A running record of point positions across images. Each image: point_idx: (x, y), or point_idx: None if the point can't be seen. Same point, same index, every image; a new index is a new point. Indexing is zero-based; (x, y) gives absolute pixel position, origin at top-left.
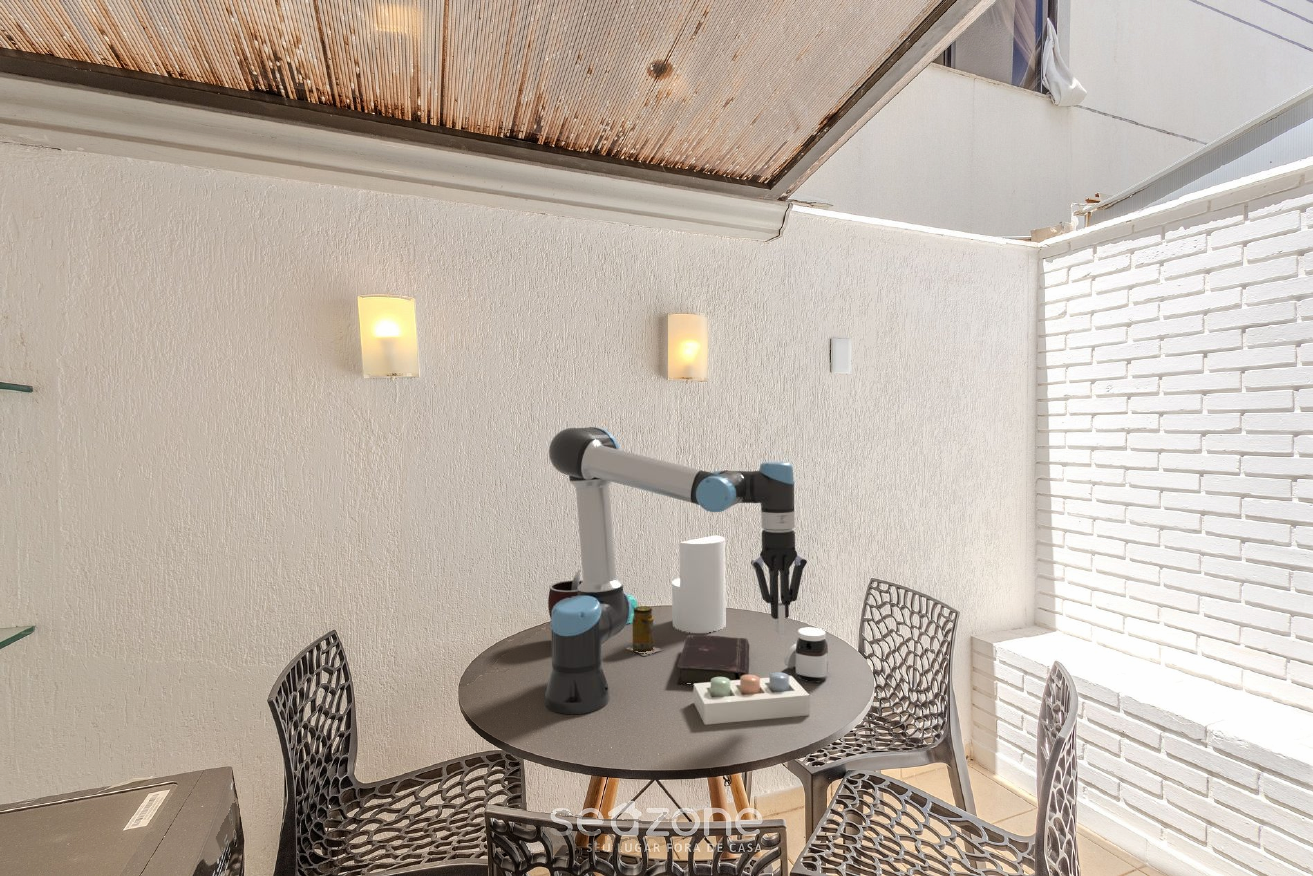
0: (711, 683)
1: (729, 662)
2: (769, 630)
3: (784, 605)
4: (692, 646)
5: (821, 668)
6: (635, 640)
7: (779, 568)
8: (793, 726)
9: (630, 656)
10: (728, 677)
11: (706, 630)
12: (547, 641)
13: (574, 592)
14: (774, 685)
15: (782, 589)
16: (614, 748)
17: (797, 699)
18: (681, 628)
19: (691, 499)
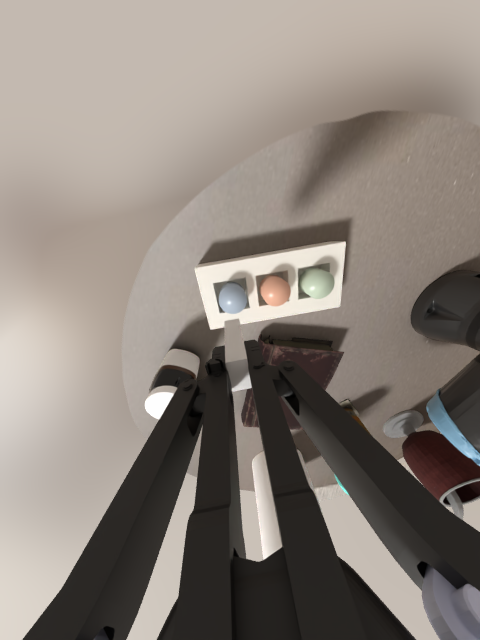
0: (333, 280)
1: None
2: None
3: (226, 361)
4: None
5: (167, 355)
6: (359, 419)
7: (273, 586)
8: (223, 233)
9: (359, 399)
10: (281, 344)
11: None
12: (422, 423)
13: (474, 477)
14: (241, 287)
15: (231, 421)
16: (453, 178)
17: (212, 264)
18: (297, 451)
19: None
